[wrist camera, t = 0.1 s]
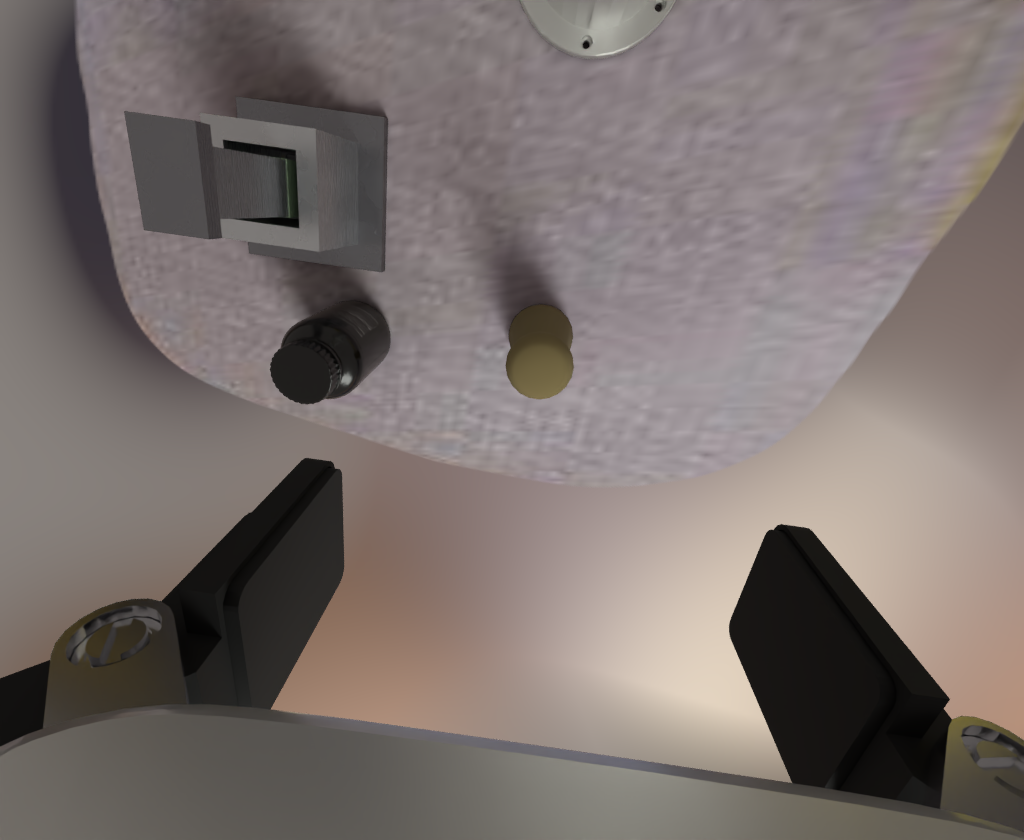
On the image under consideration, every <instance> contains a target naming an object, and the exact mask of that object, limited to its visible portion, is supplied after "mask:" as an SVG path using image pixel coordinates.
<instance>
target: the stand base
mask: <svg viewBox="0 0 1024 840" xmlns="http://www.w3.org/2000/svg"><path fill="white" fill-rule="evenodd" d="M236 107H237V118H235V117H228V116H221V115H213V114H206V113H200V120H201V123H205V124H209V125H210V128H211V137H212V146H213V147H219V148H224V149H230V150H235V151H240V152H246V153H251V154H257V155H262V156H268V157H275V158H282V159H289V160H294V161H296V165H297V187H298V209H299V217H292V218H289V217H267V218H239V219H220V221H221V231H222V238H226V239H233V240H240V241H247V242H248V245H249V253H250V254H257V255H264V256H271V257H278V258H285V259H292V260H299V261H306V262H313V263H320V264H327V265H334V266H341V267H349V268H356V269H363V270H370V271H377V272H383V271H385V236H386V188H387V140H388V119H387V118H385V117H381V116H373V115H366V114H359V113H352V112H345V111H337V110H330V109H323V108H316V107H309V106H302V105H294V104H287V103H280V102H273V101H266V100H258V99H251V98H244V97H237V96H236Z"/></svg>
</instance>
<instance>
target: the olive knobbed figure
mask: <svg viewBox="0 0 1024 840" xmlns="http://www.w3.org/2000/svg"><path fill="white" fill-rule="evenodd" d="M572 339H573V334H572V327H571V324H570V322H569V320H568V318H567V317H566V316H565V315H564V314H563V313H562V312H561V311H560V310H558V309H556V308H554V307H553V306H549V305H543V304H540V305H533V306H530V307H528V308H526V309H524V310H522V311H521V312H520V313H519V314H518V315H517V316H516V317H515V318H514V320H513V322H512V324H511V326H510V332H509V340H510V346H511V349H510V351H509V353H508V355H507V361H506V371H507V376H508V378H509V380H510V382H511V384H512V386H513V387H514V388H515V389H516V390H517V391H518V392H519V393H521V394H523V395H525V396H527V397H529V398H534V399H545V398H550V397H552V396H554V395H557V394H558V393H559V392H561V391H562V390H563V389H564V388H565V387H566V386H567V384H568V382H569V381H570V379H571V377H572V373H573V368H574V366H573V357H572V354H571V352H570V348H571V344H572Z"/></svg>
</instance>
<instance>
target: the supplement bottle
mask: <svg viewBox="0 0 1024 840" xmlns="http://www.w3.org/2000/svg"><path fill="white" fill-rule="evenodd" d="M389 348H390V332H389V328H388V325H387V323H386V321H385V320H384V318H383V317H382V316H381V314H380V313H379V312H378V311H377V310H375V309H374V308H373V307H371V306H369V305H368V304H365V303H363V302H359V301H352V300H349V301H342V302H339V303H336V304H334V305H332V306H330V307H328V308H326V309H324V310H322V311H320V312H318V313H316V314H314V315H312V316H310V317H308V318H306V319H304V320H302V321H300V322H298V323H297V324H295V325H294V326H292V327H291V328H290V329H289V330H288V331H287V333H286V334H285V336H284V338H283V340H282V344H281V348H280V349H279V350H278V352H276V353H275V354H274V357H273V358H272V362H271V364H270V365H271V368H270V371H271V377H272V380H273V382H274V383H275V386H276V387H277V388H278V389H279V391H280V392H281V393H283V395H284V396H286V397H288V398H289V399H290V400H293V401H294V402H299V403H301V404H304V403H305V404H314V403H316V402H320V401H321V400H323V399H335V398H339V397H342V396H345V395H347V394H348V393H350V392H351V391H352V390H354V389H355V388H356V387H357V386H358V385H359V384H360V383H361V382H362V381H363V380H364V379H365V378H366V377H367V376H368V375H369V374H370V373H371V372H372V371H373V370H374V369H375V368H376V367H377V366H378V365H379V364H380V363H381V362H382V361H383V360H384V358H385V357H386V355H387V353H388V351H389Z"/></svg>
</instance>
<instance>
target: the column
mask: <svg viewBox="0 0 1024 840" xmlns="http://www.w3.org/2000/svg"><path fill="white" fill-rule="evenodd" d="M124 113H125V119H126V125H127V131H128V137H129V143H130V149H131V155H132V161H133V167H134V173H135V179H136V185H137V191H138V197H139V203H140V209H141V215H142V221H143V227H144V230H147V231H154V232H161V233H168V234H175V235H182V236H189V237H197V238H204V239H217V238H222V231H221V221H220V219H239V218H267V217H289V218H292V217H299V209H298V187H297V165H296V161H294V160H289V159H282V158H275V157H268V156H262V155H257V154H251V153H246V152H240V151H235V150H230V149H224V148H219V147H213V146H212V137H211V128H210V125H209V124H205V123H201V122H197V121H192V120H185V119H178V118H171V117H163V116H156V115H149V114H142V113H135V112H128V111H124Z"/></svg>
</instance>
